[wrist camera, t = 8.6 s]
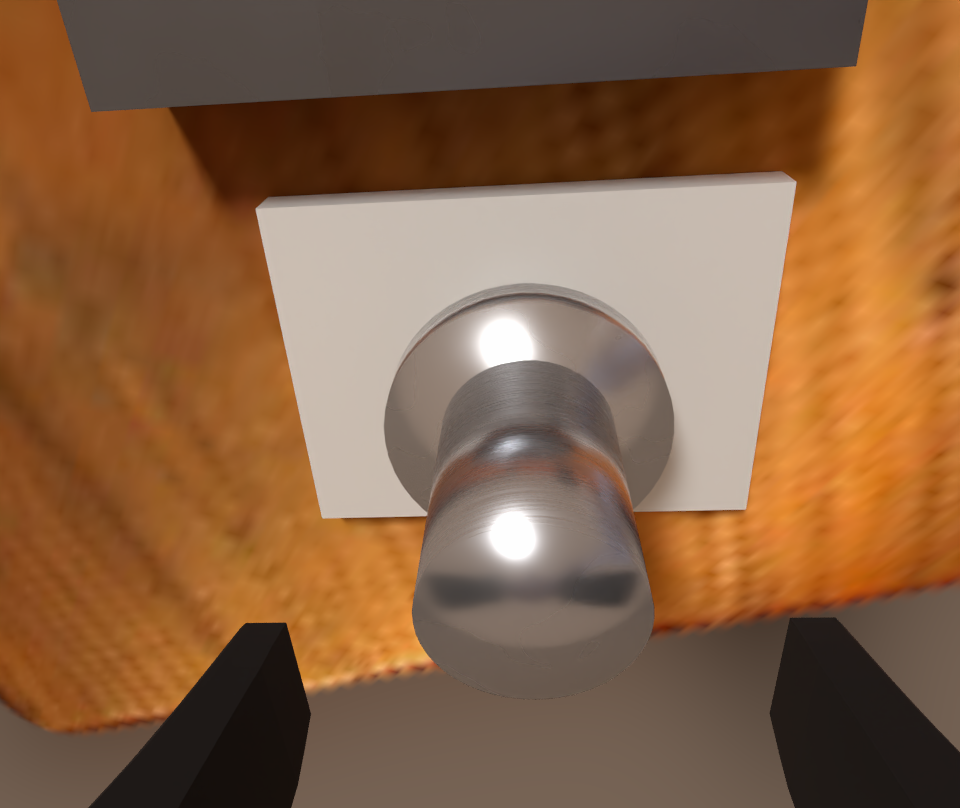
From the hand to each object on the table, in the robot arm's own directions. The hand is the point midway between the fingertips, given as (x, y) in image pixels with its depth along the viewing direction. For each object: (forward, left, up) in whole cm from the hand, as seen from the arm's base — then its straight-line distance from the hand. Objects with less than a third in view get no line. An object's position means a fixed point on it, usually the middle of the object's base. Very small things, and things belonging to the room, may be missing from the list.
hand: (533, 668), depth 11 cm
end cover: (0, 0, -9) cm, 9 cm away
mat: (0, 0, -10) cm, 10 cm away
